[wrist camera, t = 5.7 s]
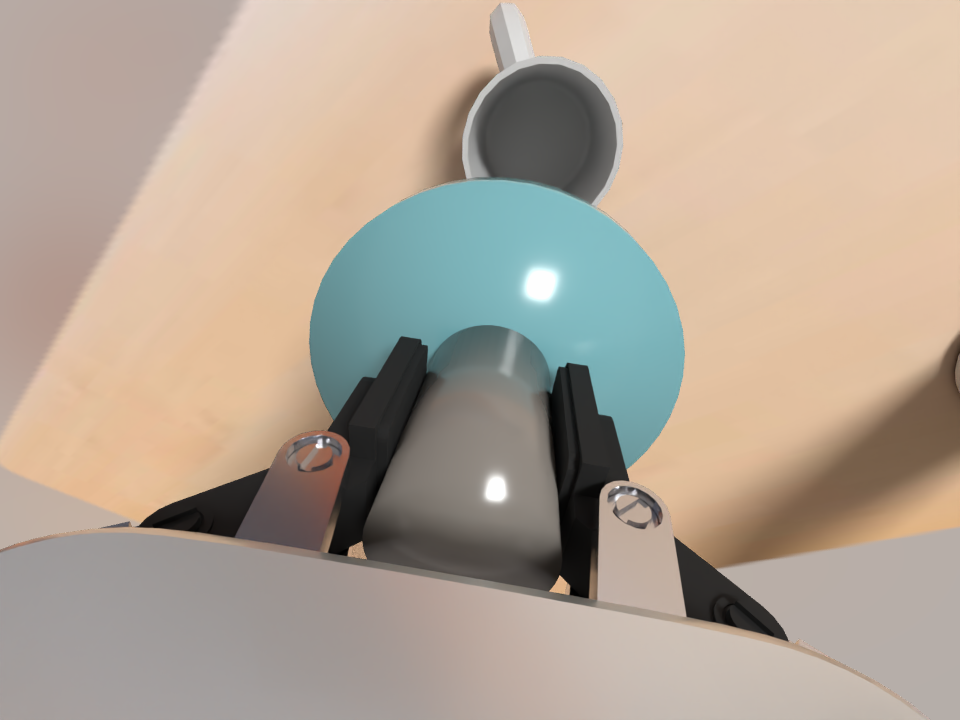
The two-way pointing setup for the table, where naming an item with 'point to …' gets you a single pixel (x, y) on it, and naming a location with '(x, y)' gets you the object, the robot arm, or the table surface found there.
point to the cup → (542, 118)
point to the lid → (493, 363)
